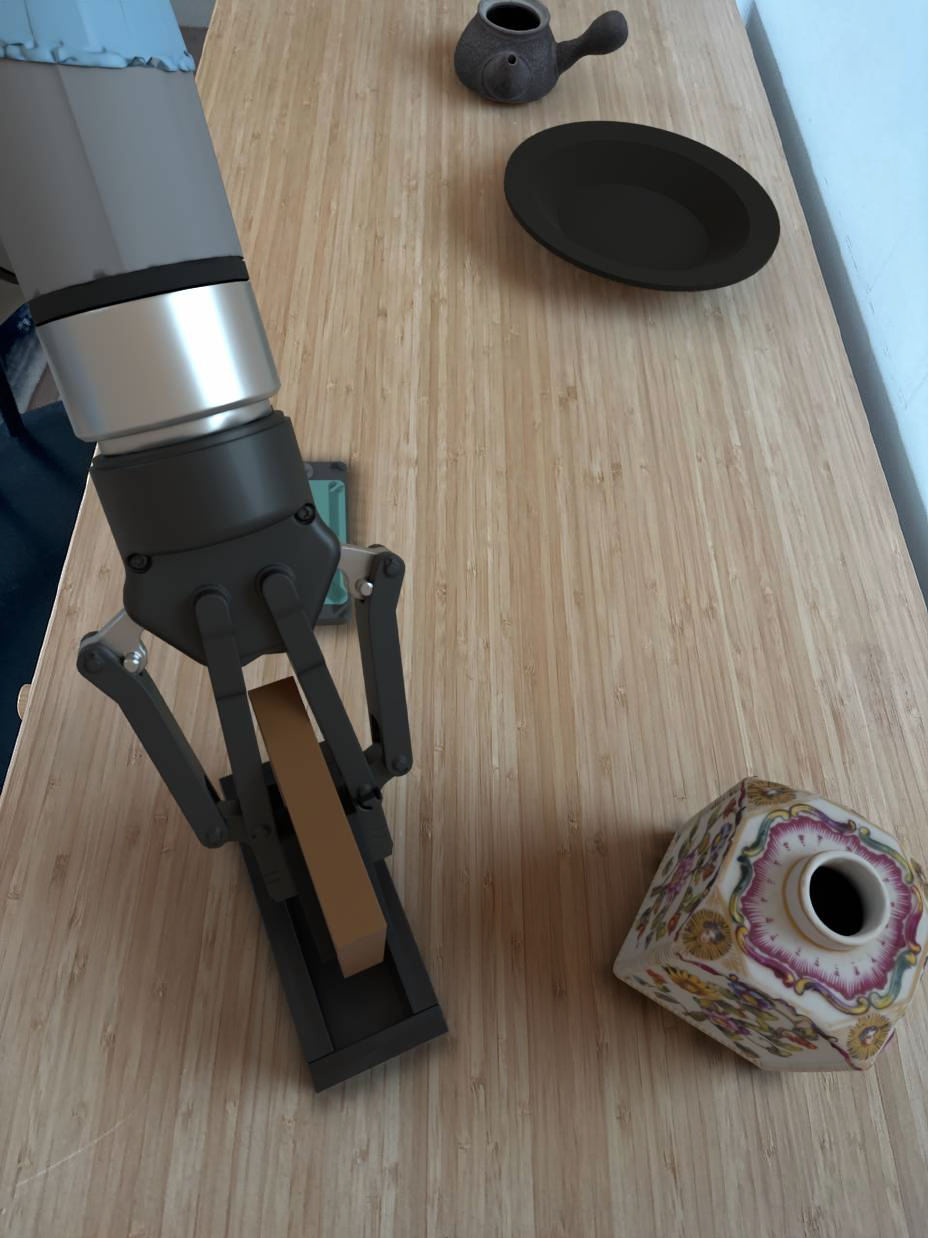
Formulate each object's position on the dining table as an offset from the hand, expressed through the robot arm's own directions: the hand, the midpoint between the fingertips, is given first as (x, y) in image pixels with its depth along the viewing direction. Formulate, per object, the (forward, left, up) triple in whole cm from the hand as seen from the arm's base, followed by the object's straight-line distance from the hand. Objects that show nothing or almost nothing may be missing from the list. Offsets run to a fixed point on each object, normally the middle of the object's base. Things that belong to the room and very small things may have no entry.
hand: (351, 928), depth 40 cm
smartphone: (-32, +5, -18) cm, 37 cm away
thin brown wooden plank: (-4, 0, -3) cm, 5 cm away
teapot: (-85, +47, -18) cm, 99 cm away
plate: (-58, +47, -18) cm, 77 cm away
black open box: (-3, -1, -18) cm, 18 cm away
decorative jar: (+7, +23, -18) cm, 30 cm away
